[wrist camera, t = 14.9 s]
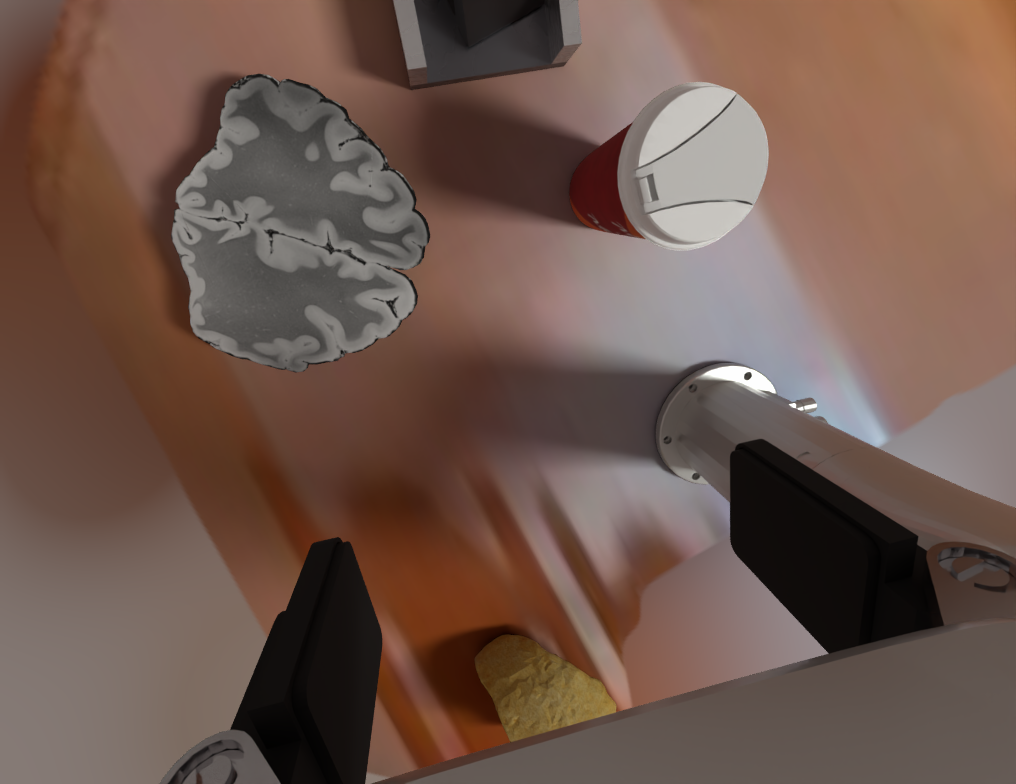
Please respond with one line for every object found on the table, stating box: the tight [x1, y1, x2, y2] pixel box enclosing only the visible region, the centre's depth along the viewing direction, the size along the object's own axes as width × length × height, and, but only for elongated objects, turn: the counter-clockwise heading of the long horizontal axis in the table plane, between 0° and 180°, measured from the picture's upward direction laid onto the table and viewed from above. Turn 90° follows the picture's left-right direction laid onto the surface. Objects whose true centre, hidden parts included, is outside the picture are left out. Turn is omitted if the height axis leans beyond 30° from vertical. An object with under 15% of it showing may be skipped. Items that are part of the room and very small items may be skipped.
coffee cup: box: [569, 82, 769, 251], centre depth 31 cm, size 8×8×15 cm
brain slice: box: [171, 74, 430, 372], centre depth 35 cm, size 20×17×3 cm
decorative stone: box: [475, 634, 616, 742], centre depth 49 cm, size 13×15×15 cm
